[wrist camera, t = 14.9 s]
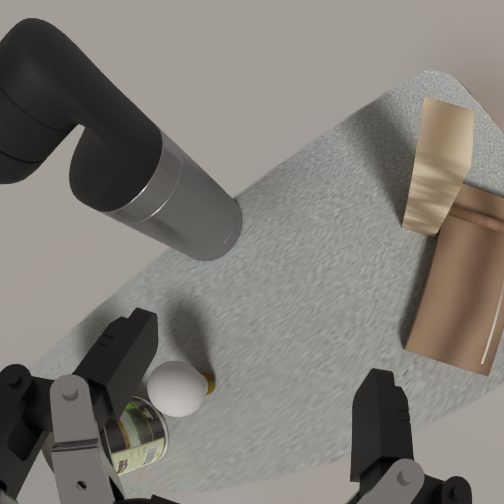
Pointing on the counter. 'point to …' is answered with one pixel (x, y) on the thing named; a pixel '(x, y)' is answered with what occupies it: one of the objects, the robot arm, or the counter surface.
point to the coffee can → (130, 437)
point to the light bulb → (178, 388)
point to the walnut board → (463, 289)
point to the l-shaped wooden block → (442, 169)
